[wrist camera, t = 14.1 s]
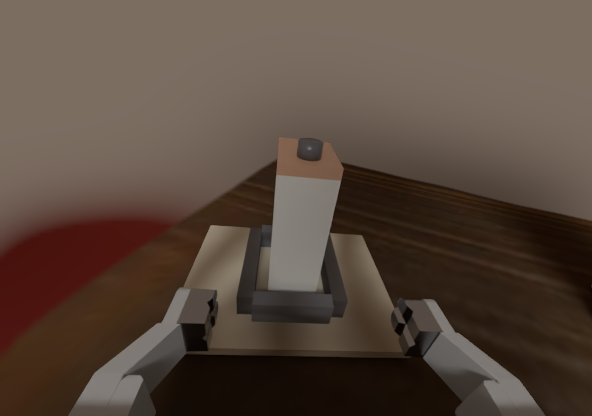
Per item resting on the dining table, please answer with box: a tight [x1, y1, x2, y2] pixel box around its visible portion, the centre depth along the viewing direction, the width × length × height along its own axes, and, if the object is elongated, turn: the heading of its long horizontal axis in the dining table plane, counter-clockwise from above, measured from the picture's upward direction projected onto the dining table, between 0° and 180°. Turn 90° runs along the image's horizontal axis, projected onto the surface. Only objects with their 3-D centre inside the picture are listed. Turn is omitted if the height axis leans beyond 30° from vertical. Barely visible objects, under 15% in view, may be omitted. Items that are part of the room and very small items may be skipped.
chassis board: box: [183, 225, 411, 358], centre depth 23 cm, size 18×14×3 cm
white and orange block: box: [268, 138, 344, 294], centre depth 20 cm, size 4×6×13 cm
